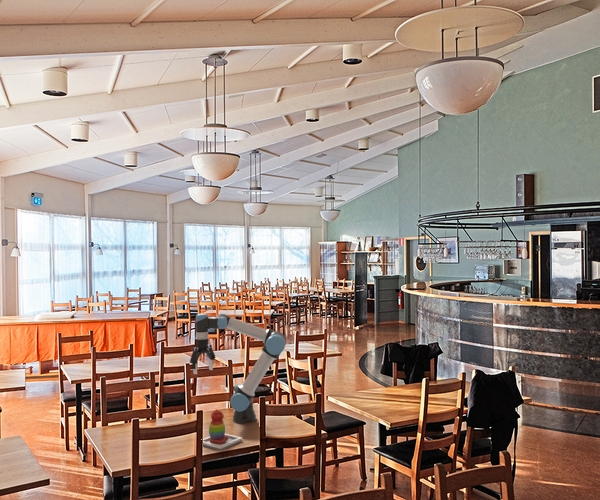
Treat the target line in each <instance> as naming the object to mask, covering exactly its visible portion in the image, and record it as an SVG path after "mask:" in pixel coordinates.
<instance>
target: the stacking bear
mask: <svg viewBox="0 0 600 500" xmlns="http://www.w3.org/2000/svg"><path fill="white" fill-rule="evenodd" d="M210 418H211V421H210V422H209V426H208V433H209V436H210V443H213V444H224V443H225V440H227V439H228V437H227V436H224V435H225V434H226V426H225V423H224V420H223V419H224V418H225V415H224V413H223V412H222V411H221V410H218V409H215V410H214V411H212V412H211V414H210Z"/></svg>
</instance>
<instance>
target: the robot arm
mask: <svg viewBox="0 0 600 500" xmlns="http://www.w3.org/2000/svg"><path fill="white" fill-rule="evenodd" d="M218 329H219V330H223V329H228V330H231V331H233V332H236V333H239V334H242V335H244V336H248V337H250V338H253V339H255V340H260V341H262V343H263V344H264V345H263V347H261V354H260V356H259V357H258V359H257V361H256V362H255V364H254V365H253V368H251V370H250V372H249V373H248V375H247V376H246V379H245V380H244V382H243V383H241V384H236V385H234V393H233V394H232V395H231V397H230V401H229V402H230V406H231V409H233V410H234V412H233V415H232V421H233V422H234V423H237V424H249V423H252V422H256V421H257V415H256V413H255V410H254V397H256V396H255V395H256V394H255V391H256V390H257V388H258V386H259V384H260V383H261V382H262V380H263V378H264V376H266V373H267V372H268V370H269V369H270V366H271V365H272V364H273V362H274V361H275V360H278V359H279V357H280V356H281V354H282V352H283V351H284V350H285V348H286V344H287V338H286V336H285V334H284V333H282V332H280V331H277V330H272V329H269V328H268V329H265V328H262V327H260V326H256V325H253V324H251V323H248V322H245V321H243V320H239V319H237V318H234V317H231V316H228V315H227V314H226V313H220V314H217V315H216V316H208V314H207V313H198V314H196V316H195V335H196V336H195V337H196V341H195V342H196V346H197V347H193V349H192V354H191V357H190V359H189V360H190V361H189V364H192V373H193V375H198V363H197V362H198V360H199V359H200V356H201V355H202V354H205V355H206V356H207V357H208V370H210V371H214V361H215V359H216V354H215V352H214V350H213V346H212V344H209V330H218Z"/></svg>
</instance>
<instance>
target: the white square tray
mask: <svg viewBox="0 0 600 500" xmlns="http://www.w3.org/2000/svg"><path fill="white" fill-rule="evenodd" d="M224 436H227V437H228V439H227V440H225V443H224V444H213V443H210V435H209V436H207V437H204V438H202V439H203V446H202V447H205V448H209V449H212V450H217V451H223V450H226V449H229V448H230V447H232V446H235V445H238V444H239V443H242V442H243V437H242V436H241V437H240V436H237V435H232V434H228V433H225V435H224Z"/></svg>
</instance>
